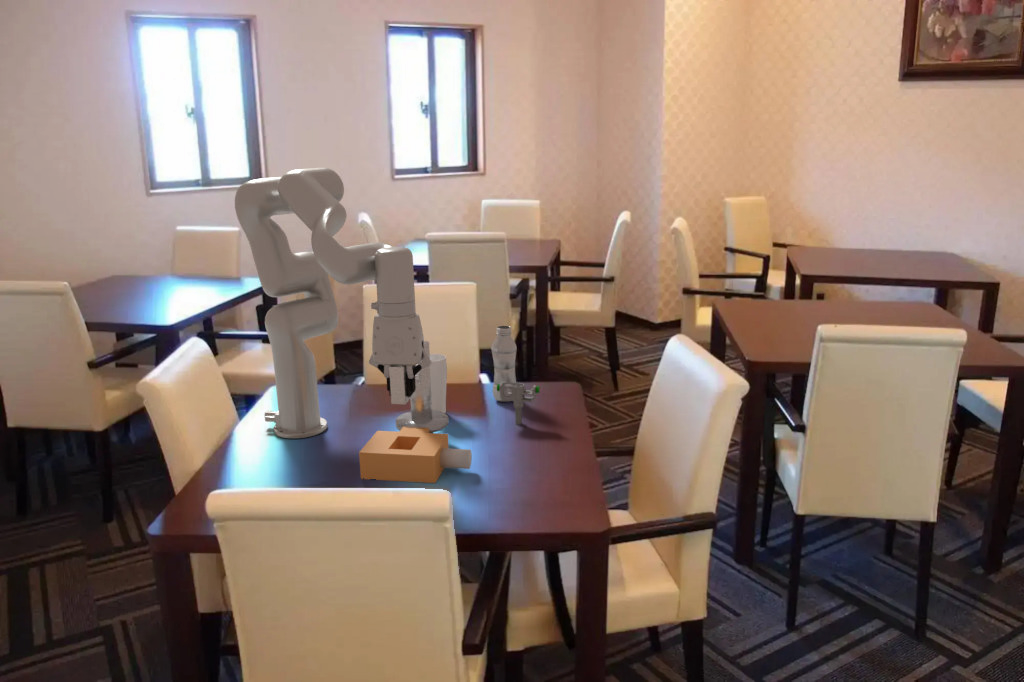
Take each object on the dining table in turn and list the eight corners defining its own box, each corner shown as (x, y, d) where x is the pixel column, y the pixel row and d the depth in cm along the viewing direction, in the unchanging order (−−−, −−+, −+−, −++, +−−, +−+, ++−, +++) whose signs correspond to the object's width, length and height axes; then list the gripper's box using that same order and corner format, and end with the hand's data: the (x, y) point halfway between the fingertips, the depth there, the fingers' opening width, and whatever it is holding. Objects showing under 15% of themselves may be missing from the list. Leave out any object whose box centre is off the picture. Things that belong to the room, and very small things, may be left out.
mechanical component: (538, 426, 194) (538, 387, 192) (497, 424, 196) (496, 385, 194) (540, 422, 197) (540, 383, 195) (499, 420, 199) (498, 381, 197)
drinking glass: (427, 420, 200) (425, 362, 196) (417, 412, 205) (415, 356, 201) (452, 415, 203) (450, 358, 199) (442, 407, 208) (440, 352, 204)
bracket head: (360, 478, 168) (358, 452, 166) (383, 450, 182) (381, 425, 181) (464, 484, 164) (463, 457, 163) (478, 455, 179) (477, 429, 177)
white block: (391, 403, 166) (389, 366, 164) (398, 395, 171) (396, 359, 169) (405, 404, 165) (403, 367, 163) (412, 396, 170) (410, 360, 168)
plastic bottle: (518, 404, 210) (516, 330, 204) (492, 404, 210) (490, 330, 205) (518, 396, 216) (517, 324, 211) (493, 396, 216) (491, 324, 211)
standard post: (390, 452, 181) (384, 350, 174) (405, 432, 192) (400, 335, 186) (442, 455, 179) (437, 351, 173) (454, 434, 190) (450, 337, 184)
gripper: (351, 312, 161) (358, 399, 166) (431, 313, 158) (435, 402, 163) (364, 303, 168) (370, 387, 173) (440, 305, 165) (444, 390, 170)
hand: (401, 393), depth 168 cm, fingers closed on white block, 3 cm apart
